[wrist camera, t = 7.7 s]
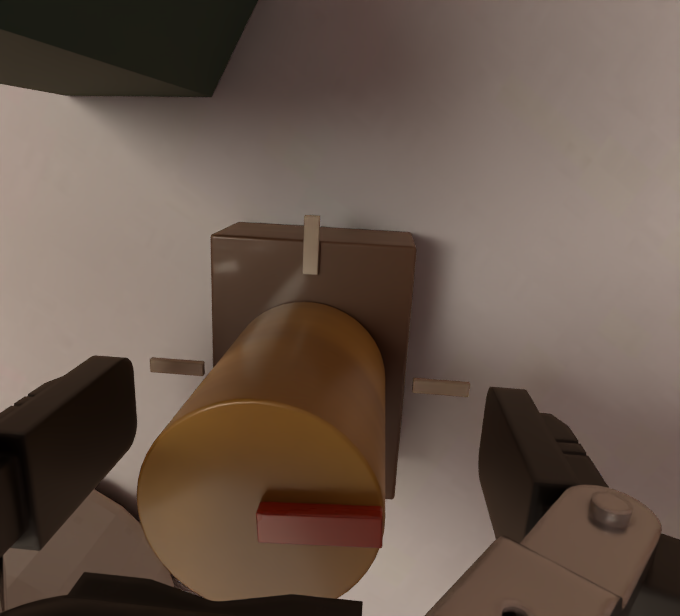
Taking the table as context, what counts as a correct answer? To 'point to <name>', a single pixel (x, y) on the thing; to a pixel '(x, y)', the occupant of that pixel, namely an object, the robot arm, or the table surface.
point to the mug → (83, 553)
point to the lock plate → (320, 297)
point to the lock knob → (274, 463)
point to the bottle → (119, 45)
